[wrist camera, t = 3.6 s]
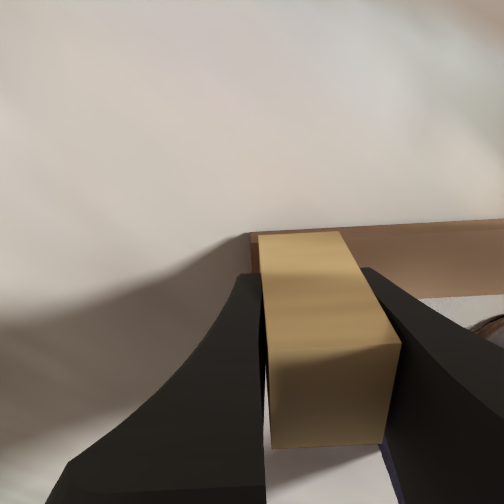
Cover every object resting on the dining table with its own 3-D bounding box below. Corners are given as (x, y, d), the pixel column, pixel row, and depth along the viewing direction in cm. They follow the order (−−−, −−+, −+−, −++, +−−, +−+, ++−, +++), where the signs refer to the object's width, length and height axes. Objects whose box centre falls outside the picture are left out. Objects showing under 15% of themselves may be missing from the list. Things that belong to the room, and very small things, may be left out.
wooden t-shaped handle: (573, 434, 17) (710, 589, 12) (262, 450, 17) (270, 611, 12) (710, 201, 12) (1071, 308, 7) (249, 225, 12) (254, 350, 7)
